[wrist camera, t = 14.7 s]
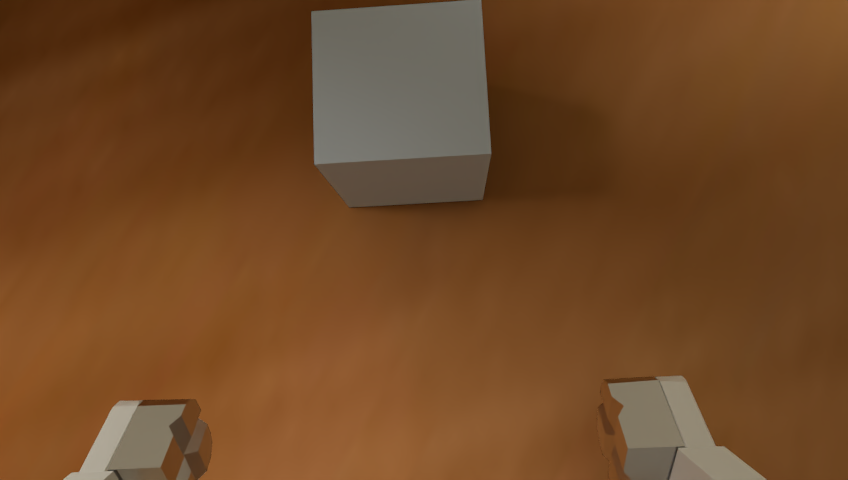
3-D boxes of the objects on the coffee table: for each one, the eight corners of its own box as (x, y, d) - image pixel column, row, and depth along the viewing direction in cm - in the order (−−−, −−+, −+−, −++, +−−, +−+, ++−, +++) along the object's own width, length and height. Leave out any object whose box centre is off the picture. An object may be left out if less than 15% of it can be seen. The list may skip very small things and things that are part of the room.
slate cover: (349, 207, 28) (314, 164, 21) (346, 89, 29) (311, 11, 22) (482, 199, 28) (491, 153, 21) (475, 81, 28) (481, -1, 22)
